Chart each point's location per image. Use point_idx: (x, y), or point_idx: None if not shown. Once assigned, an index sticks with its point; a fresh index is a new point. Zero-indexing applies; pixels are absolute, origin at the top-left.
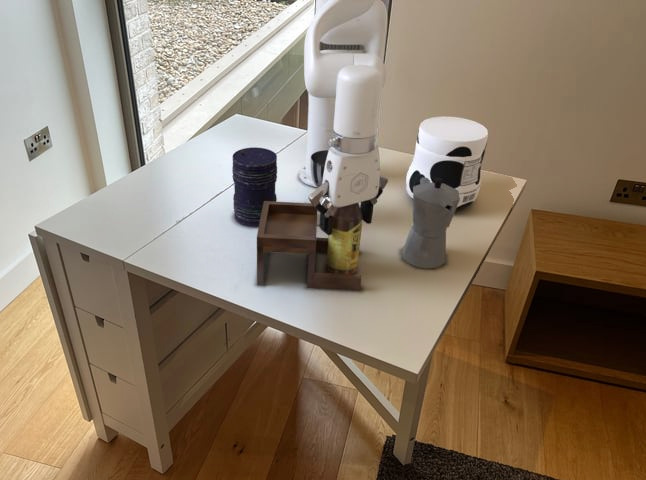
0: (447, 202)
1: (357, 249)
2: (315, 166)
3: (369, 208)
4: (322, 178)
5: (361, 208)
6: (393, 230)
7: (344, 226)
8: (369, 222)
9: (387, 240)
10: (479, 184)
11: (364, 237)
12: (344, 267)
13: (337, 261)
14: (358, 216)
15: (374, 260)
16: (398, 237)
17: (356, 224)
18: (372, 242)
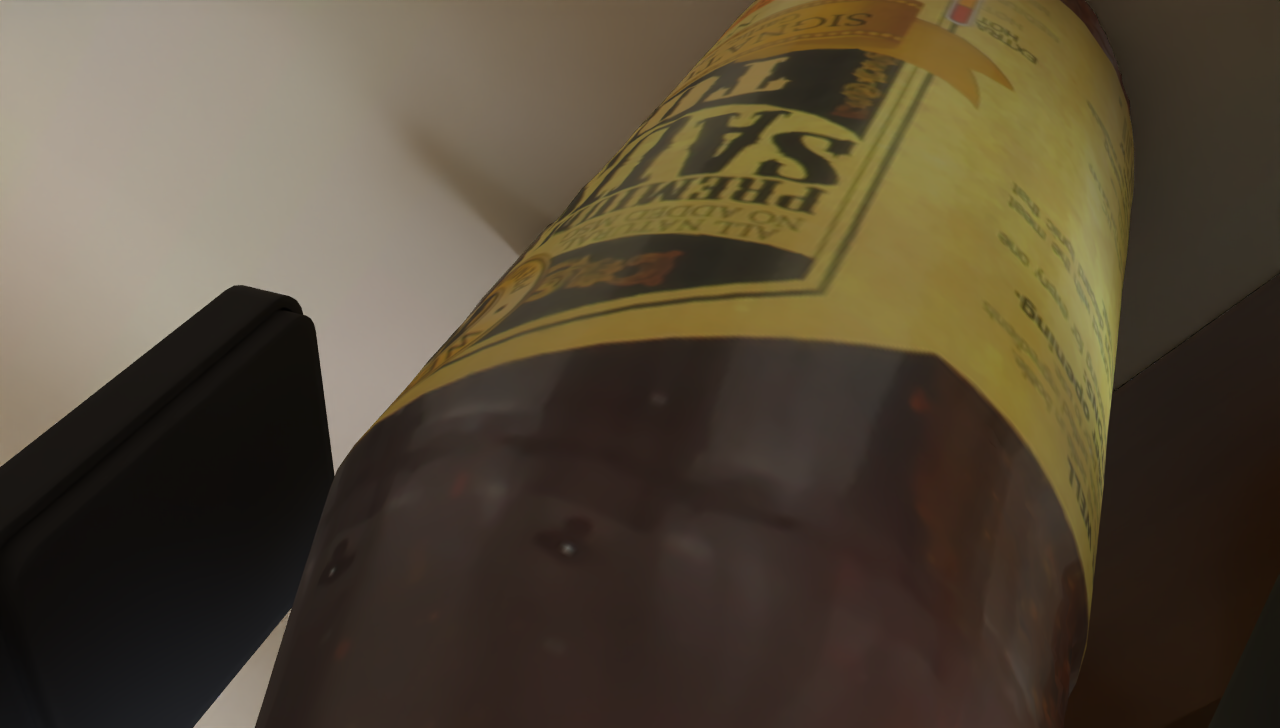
0: None
1: (751, 58)
2: None
3: (47, 547)
4: None
5: (207, 664)
6: (35, 287)
7: (970, 511)
8: (263, 303)
9: (152, 208)
10: None
11: (327, 379)
12: (1035, 3)
13: (1110, 127)
14: (478, 520)
15: (452, 20)
16: (36, 178)
17: (653, 366)
18: (299, 276)
